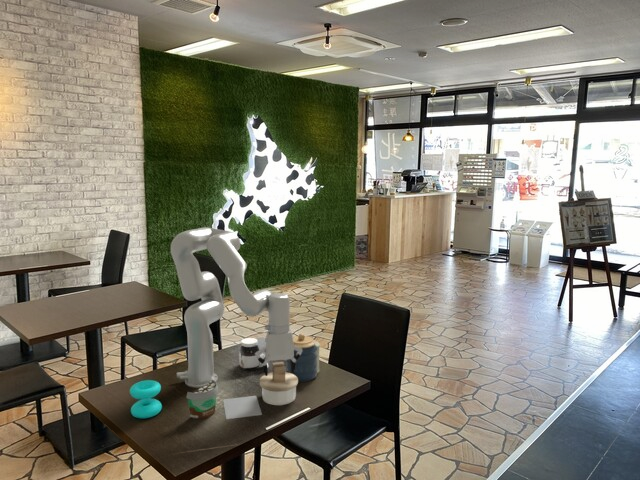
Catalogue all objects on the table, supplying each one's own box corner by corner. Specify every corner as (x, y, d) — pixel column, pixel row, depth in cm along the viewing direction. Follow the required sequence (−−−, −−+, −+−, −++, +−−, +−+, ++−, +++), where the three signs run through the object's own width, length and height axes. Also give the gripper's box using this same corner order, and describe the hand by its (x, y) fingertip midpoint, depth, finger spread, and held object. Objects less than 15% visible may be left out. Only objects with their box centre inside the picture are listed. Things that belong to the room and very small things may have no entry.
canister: (313, 384, 187) (313, 341, 185) (281, 380, 190) (281, 338, 187) (320, 370, 200) (320, 329, 197) (290, 367, 203) (290, 327, 200)
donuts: (164, 386, 162) (134, 394, 156) (165, 414, 164) (135, 423, 158) (155, 376, 170) (126, 383, 164) (156, 402, 172) (127, 410, 166)
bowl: (265, 407, 169) (265, 391, 168) (260, 392, 180) (260, 377, 179) (298, 403, 172) (298, 388, 171) (291, 388, 183) (291, 373, 182)
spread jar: (237, 364, 205) (236, 338, 203) (262, 359, 210) (262, 334, 208) (246, 375, 194) (245, 348, 193) (272, 370, 200) (272, 343, 198)
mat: (226, 420, 160) (226, 419, 160) (223, 400, 174) (223, 399, 173) (262, 415, 163) (262, 414, 163) (256, 396, 177) (256, 395, 177)
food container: (200, 426, 157) (199, 397, 155) (187, 420, 160) (186, 392, 158) (226, 410, 167) (225, 383, 165) (213, 405, 170) (212, 378, 169)
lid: (257, 376, 180) (256, 358, 179) (293, 372, 184) (293, 355, 182) (262, 393, 167) (262, 374, 165) (301, 389, 170) (302, 370, 169)
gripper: (256, 333, 166) (256, 380, 169) (304, 329, 171) (304, 374, 173) (253, 326, 173) (253, 371, 176) (300, 322, 178) (299, 366, 180)
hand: (279, 372), depth 174 cm, fingers open, 9 cm apart
